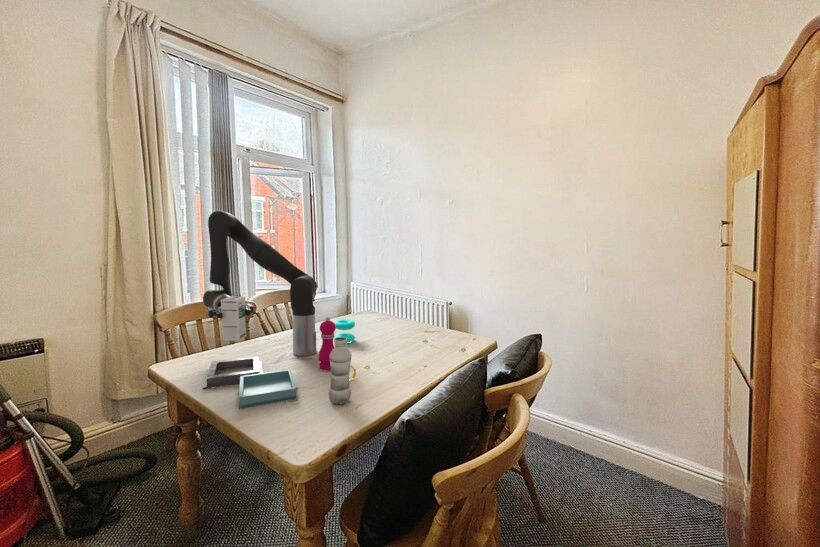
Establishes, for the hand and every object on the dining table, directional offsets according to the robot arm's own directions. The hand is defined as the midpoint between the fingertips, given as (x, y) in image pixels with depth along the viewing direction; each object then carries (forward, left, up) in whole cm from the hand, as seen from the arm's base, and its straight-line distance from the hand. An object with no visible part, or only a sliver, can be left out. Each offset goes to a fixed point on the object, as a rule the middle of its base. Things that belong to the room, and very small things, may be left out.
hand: (235, 314), depth 113 cm
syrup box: (0, -2, -9) cm, 9 cm away
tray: (-9, +14, -23) cm, 29 cm away
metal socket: (+1, -5, -23) cm, 24 cm away
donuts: (-45, -28, -24) cm, 58 cm away
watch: (-35, +15, -24) cm, 45 cm away
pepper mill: (-31, +1, -24) cm, 39 cm away
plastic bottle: (-29, +29, -24) cm, 47 cm away
